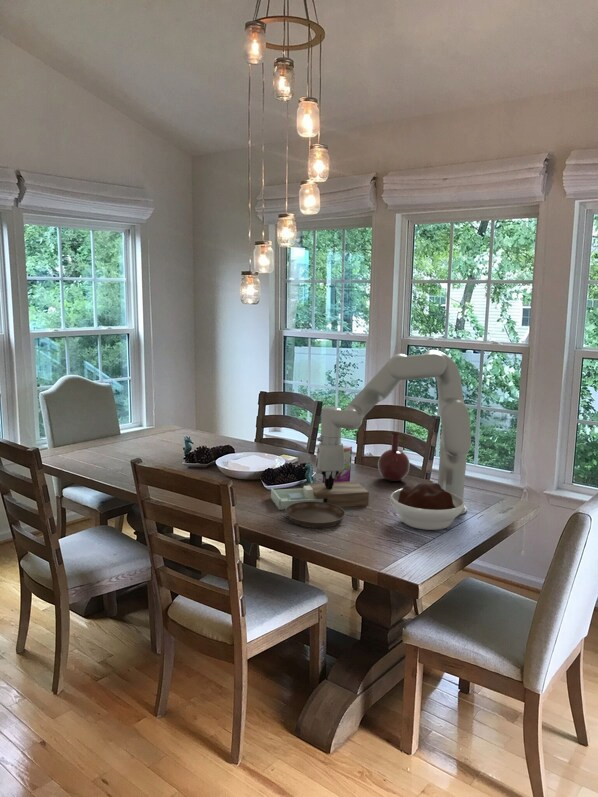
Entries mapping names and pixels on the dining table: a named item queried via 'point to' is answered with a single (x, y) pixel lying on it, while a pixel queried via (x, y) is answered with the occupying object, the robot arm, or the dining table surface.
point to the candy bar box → (346, 473)
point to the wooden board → (341, 493)
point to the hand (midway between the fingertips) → (329, 487)
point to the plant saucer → (315, 514)
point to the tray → (282, 497)
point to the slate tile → (295, 496)
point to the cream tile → (308, 492)
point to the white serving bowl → (426, 506)
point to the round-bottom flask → (394, 462)
